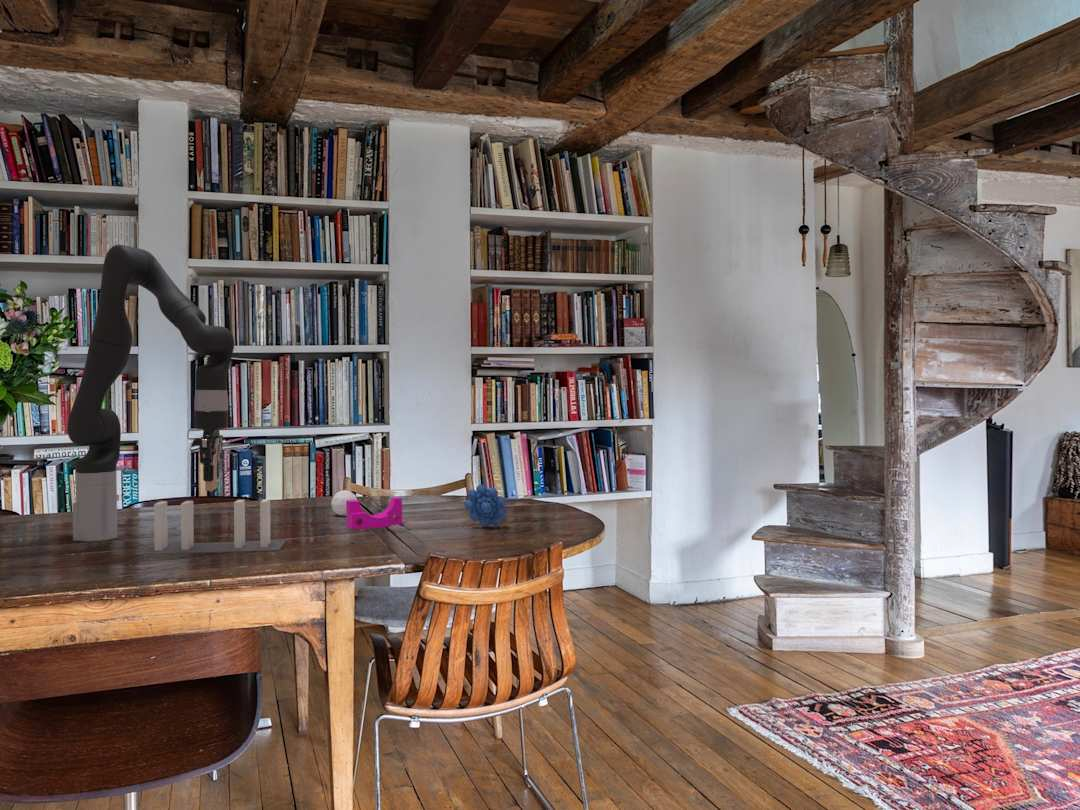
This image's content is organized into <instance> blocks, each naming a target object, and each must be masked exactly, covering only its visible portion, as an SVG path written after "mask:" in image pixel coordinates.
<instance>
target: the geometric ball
mask: <svg viewBox="0 0 1080 810" xmlns="http://www.w3.org/2000/svg"><path fill="white" fill-rule="evenodd" d="M331 499H332V500H331V501H330V504H331V507H332V511H333V512H334V513H336V515H338V516H341V517H346V501H347V500H357V501H358V498H357V495H356V494H354V493H353V492H351V491H349V490H346V489H343V490H340V491H338V492H337V493H335V494H334V496H333V497H332V498H331Z"/></svg>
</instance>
